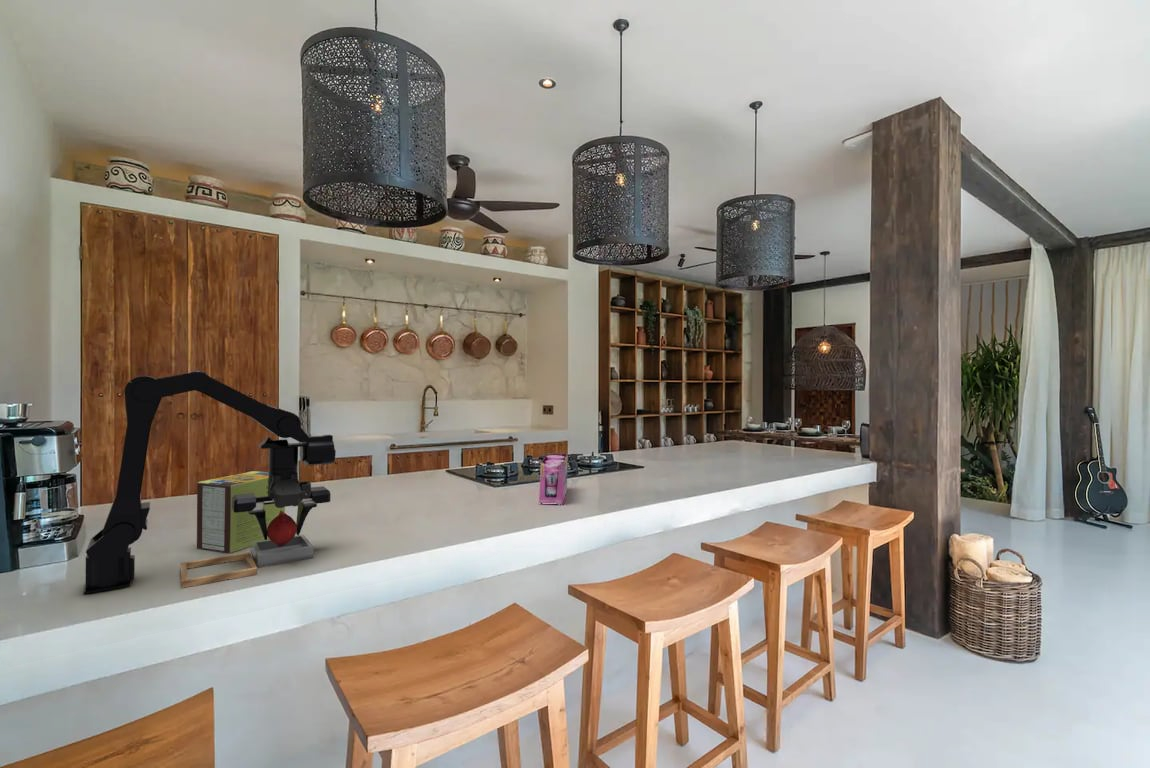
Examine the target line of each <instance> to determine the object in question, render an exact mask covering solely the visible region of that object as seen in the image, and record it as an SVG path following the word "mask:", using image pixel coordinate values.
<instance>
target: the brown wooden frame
mask: <svg viewBox="0 0 1150 768" xmlns="http://www.w3.org/2000/svg"><path fill="white" fill-rule="evenodd" d="M244 560H245V561H246V564H247V566H248V568H244V569H239V570H234V571H233V570H232V571H227V572H223V573H222V572H221V573H216V574H210V575H203V576H199V577H198V576H197V577H193V578H188V569H187V568H190V569H195V568H194V567H196V568H200V567H201V566H202V567H206V566H207V565H208V566H212V565H213V564H214V565H219V564H218V563H220V564H225V563H224V562H226V563H230V562H229V561H232V562H238V561H244ZM256 574H257V575H258V567H257V565H256V562H255V560H254V558H253V556H252V552H250V551H248V552H241V553H234V554H229V555H228V554H227V555H223V556H216V557H210V558H209V557H208V558H204V559H198V560H191V561H184V562H180V579H181V580H180V582H181V589H185V588H190V586H191V587H195V586H202V585H207V584H211V583H212V582H213V583H218V582H223V580H224V581H228V580H227V579H229V580H234V578H235V579H240V578H245V576H246V577H251V576H254V575H255V576H257V575H256ZM217 581H218V582H217ZM213 583H212V584H213ZM201 584H202V585H201ZM184 587H185V588H184Z"/></svg>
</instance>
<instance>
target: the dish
mask: <svg viewBox="0 0 1150 768" xmlns="http://www.w3.org/2000/svg"><path fill="white" fill-rule="evenodd" d="M251 555H252V558H253V560H254V562H255V565H256V564H257V565H256V567H257V568H262V567H261V566H263V567H267V566H266V565H269V566H274V565H273V564H275V565H279V564H280V565H281V564H285V562H286V563H291V562H297V561H301V560H309V559H313V558H314V545H313V544H312V542H310V540H309V539H308V537H306V535H304V534H299V535H295V536H294V538H293V539H292V540H291V541H289V542H288V543H287V544H285V545H284V546H282V547H279V546H278V545H276V544H275V543H274V542H272V541H271V540H264V541H258V542H252V546H251ZM278 563H279V564H278Z"/></svg>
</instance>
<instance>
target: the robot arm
mask: <svg viewBox="0 0 1150 768" xmlns="http://www.w3.org/2000/svg"><path fill="white" fill-rule="evenodd" d="M193 391H197V392H199V393H201V394H203V395H205V396H207V397H209V398H211V399H213V400H216V401H218V402H219V403H221V404H223V405H226V406H228V407H229V408H232V409H234V410H236V411H238V412H240V413H242V414H244V415H246V416H249V417H250V418H251V419H252V420H254V421H255V422H256V423H258V424H260V425H261V426H262V427H263V428H265V429H266V430H268V431H269V432H270V433H272V434H274V435H275V436H277V437H279V438H283V439H272V438H271V437H270V436H266V437H265V438H264V440H263V441H261V442H260V443H259V444H258V447H259V448H260V449H261V450H266V449H268V496H261V497H255V495H254V494H253V493H249V494H238V495H234V496H233V497H232V509H233V511H234V512H235V513H239V512H247V511H248V513H249V514H250V515H255V516H256V518H257V520H258V522H259V525H260V528H261V531H262V534H263V536H264V539H265V540H267V526H266V517H265V513H266V511H265V510H264V508H263V507H264V505H267V504H275V506H276V507H277V508H283V507H285V508H287V507H297V514H296V521H295V523H296V525H297V531H296V535H295V536H298V535H301V532H302V528H303V525H304V523H305V521H306V518H307V516H308V514H309V513H310V511H311V510H312V509H313V508H317V507H318V504H325V503H330V502H331V491H330V490H329V489H327V488H326V487H325V486H324V485H323V486H313V487H312V484H311V481H309V480H307V481H306V480H305V481H299V475H298V474H299V472H298V471H299V469H298V468H299V460H300V462H304V465H305V466H317V465H318V466H319V465H330V464H334V463H335V460H336V449H335V444H334V443H335V442H334V437H333V436H334V435H331V434H323V435H308V433H306V432H305V431H304V429H303V428H302V426H301V425H302V422H301V419H300V417H299V416H298V415H297V414H296V413H293V412H291V411H288V410H285V409H282V408H278V407H275V406H273V405H269V404H266V403H262V402H260V401H258V400H256V399H254V398H252V397H251V396H249V395H247V394H245V393H242V392H240V390H237V389H235V388H233V387H231V386H229V385H227V384H225V383H223V382H221V381H220V380H217V379H216V378H214V377H211V376H210V375H208V374H207V372H204V371H202V370H191V371H189V372H187V373H181V374H176V375H170V376H165V377H164V376H163V377H159V378H155V377H153V376H149V375H140V376H136V377H134V378H132V379H131V380H129V381H128V382H127V383H126V385H125V387H124V403H125V404H124V405H125V416H126V430H125V436H124V443H123V448H122V456H121V461H120V462H121V463H120V468H119V475H118V481H117V488H116V492H115V493H116V495H115V497H114V499H113V502H112V504H111V506H110V509H109V512H108V514H107V517H106V520H105V522H104V526H103V528H102V529H101V530H100V531H99V532H98V533H96V534H95V535H94V536H92V537H91V538H90V540H89V541H88V545H87V548H86V550H85V553H86V556H85V568H84V569H85V573H84V574H85V578H84V579H85V581H84V583H85V585H84V589H83V593H82V594H83V595H85V594H93V593H98V592H103V591H104V592H105V591H110V590H117V589H120V588H121V589H122V588H126V587H127V588H128V587H130V586H131V584H132V581H134V580H135V576H136V556H135V554H132V547H129V546H130V545H132V544H134V543H135V542H137V541H138V540H139V539H140V538H141V536H142V534H143V530H144V531H147V530H148V514H149V513H150V511H151V510H150V509H151V502H150V501H147V502H142V493H141V492H142V486H143V479H144V475H145V474H144V472H145V468H146V467H145V465H146V459H147V455H148V454H147V452H148V447H149V440H150V436H151V435H150V434H151V426H152V424H153V421H154V419H155V416H156V413H157V412H158V408H159V407H160V405H161V404H160V403H161V401H162V398H166V397H170V396H175V395H180V394H183V393H187V392H193ZM289 438H291V439H293V440H295V441H297V442H295V443H294V442H292V443H290V442H288V439H289ZM273 499H274V500H273ZM116 588H117V589H116Z"/></svg>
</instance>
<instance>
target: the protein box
mask: <svg viewBox="0 0 1150 768" xmlns="http://www.w3.org/2000/svg"><path fill="white" fill-rule="evenodd" d="M196 491H197V493H196V549H198V548H201V549H200V550H205V549H207V551H212V550H213V551H212V552H219V551H220V553H227V554H233V553H234V552H237V551H241V550H244V549H246V548H250V547H252V542H258V541H264V540H265V539H264V536H263V534H262V531H261V528H260V525H259V522H258V520H257V518H256V516H255V515H250V514H249V513H248V511H247V512H239V513H235V512H234V511H233V509H232V497H233V496H234V495H238V494H249V493H253V494H254V495H255V497H261V496H268V472H267V471H257V470H256V471H255V470H253V471H248V472H243V473H237V474H233V475H227V476H221V477H216V478H213V479H212V478H211V479H206V480H201V481H198V482H197V490H196ZM273 500H274V499H273ZM263 508H264V510H265V511H266V513H265V517H266V526H267V528H268V526H269V524H270V522H271V521H272V520H273V519H274V518H275V517H277V516H278V515H279V513H280V511H281V510H282V511H284V513H286V507H283V508H277V507H276V506H275V504H267V505H264V507H263ZM267 540H270V539H269V537H268V536H267Z"/></svg>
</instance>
